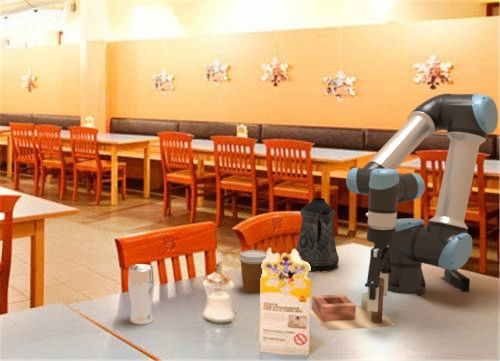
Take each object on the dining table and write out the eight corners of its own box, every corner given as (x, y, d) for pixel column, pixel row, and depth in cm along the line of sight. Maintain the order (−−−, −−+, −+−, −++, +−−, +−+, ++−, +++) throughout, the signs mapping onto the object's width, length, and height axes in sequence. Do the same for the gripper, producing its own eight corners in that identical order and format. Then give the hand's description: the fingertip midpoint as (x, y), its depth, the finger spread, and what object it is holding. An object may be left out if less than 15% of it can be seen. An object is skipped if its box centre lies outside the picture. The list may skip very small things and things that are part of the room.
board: (372, 308, 183) (373, 292, 182) (396, 329, 167) (397, 311, 166) (307, 312, 178) (307, 295, 178) (325, 333, 163) (326, 315, 162)
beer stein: (316, 257, 238) (318, 193, 235) (353, 269, 223) (357, 201, 220) (283, 264, 228) (285, 197, 225) (321, 277, 213) (323, 205, 209)
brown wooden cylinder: (379, 319, 172) (381, 277, 170) (383, 323, 169) (386, 280, 167) (369, 319, 171) (371, 277, 169) (373, 323, 168) (375, 280, 167)
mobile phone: (472, 278, 200) (448, 264, 214) (463, 278, 199) (440, 264, 214) (470, 292, 201) (447, 278, 215) (462, 293, 200) (439, 278, 215)
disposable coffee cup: (265, 296, 192) (266, 258, 190) (235, 293, 194) (236, 256, 192) (270, 287, 201) (271, 251, 199) (241, 284, 203) (242, 248, 201)
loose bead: (372, 305, 183) (373, 292, 182) (379, 310, 179) (379, 297, 178) (358, 306, 182) (359, 293, 181) (364, 311, 178) (365, 298, 177)
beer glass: (158, 318, 172) (158, 265, 169) (146, 327, 165) (146, 272, 163) (136, 314, 174) (136, 262, 172) (123, 323, 167) (123, 269, 165)
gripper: (376, 217, 179) (373, 288, 182) (357, 234, 156) (353, 315, 159) (403, 219, 176) (399, 291, 179) (386, 237, 153) (382, 320, 157)
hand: (377, 303), depth 169 cm, fingers open, 13 cm apart
